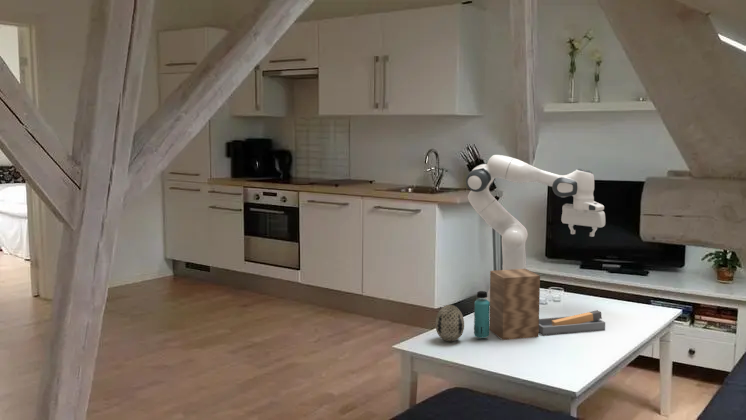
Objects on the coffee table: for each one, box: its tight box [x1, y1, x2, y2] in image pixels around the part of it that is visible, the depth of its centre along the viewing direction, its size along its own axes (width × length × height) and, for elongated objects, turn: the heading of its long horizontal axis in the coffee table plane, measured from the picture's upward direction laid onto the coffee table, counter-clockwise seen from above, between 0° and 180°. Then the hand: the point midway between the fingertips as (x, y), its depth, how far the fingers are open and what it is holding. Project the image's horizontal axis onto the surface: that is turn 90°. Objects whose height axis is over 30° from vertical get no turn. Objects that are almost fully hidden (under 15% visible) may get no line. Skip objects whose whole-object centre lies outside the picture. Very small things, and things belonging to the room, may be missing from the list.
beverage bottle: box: [473, 290, 490, 338], centre depth 290 cm, size 6×7×20 cm
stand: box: [489, 268, 541, 341], centre depth 297 cm, size 16×14×26 cm
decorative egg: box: [435, 304, 465, 342], centre depth 288 cm, size 12×12×15 cm
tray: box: [539, 315, 606, 337], centre depth 304 cm, size 29×12×4 cm, turn 103°
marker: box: [552, 309, 602, 326], centre depth 305 cm, size 22×3×3 cm, turn 103°
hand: (582, 235), depth 321 cm, fingers open, 8 cm apart
